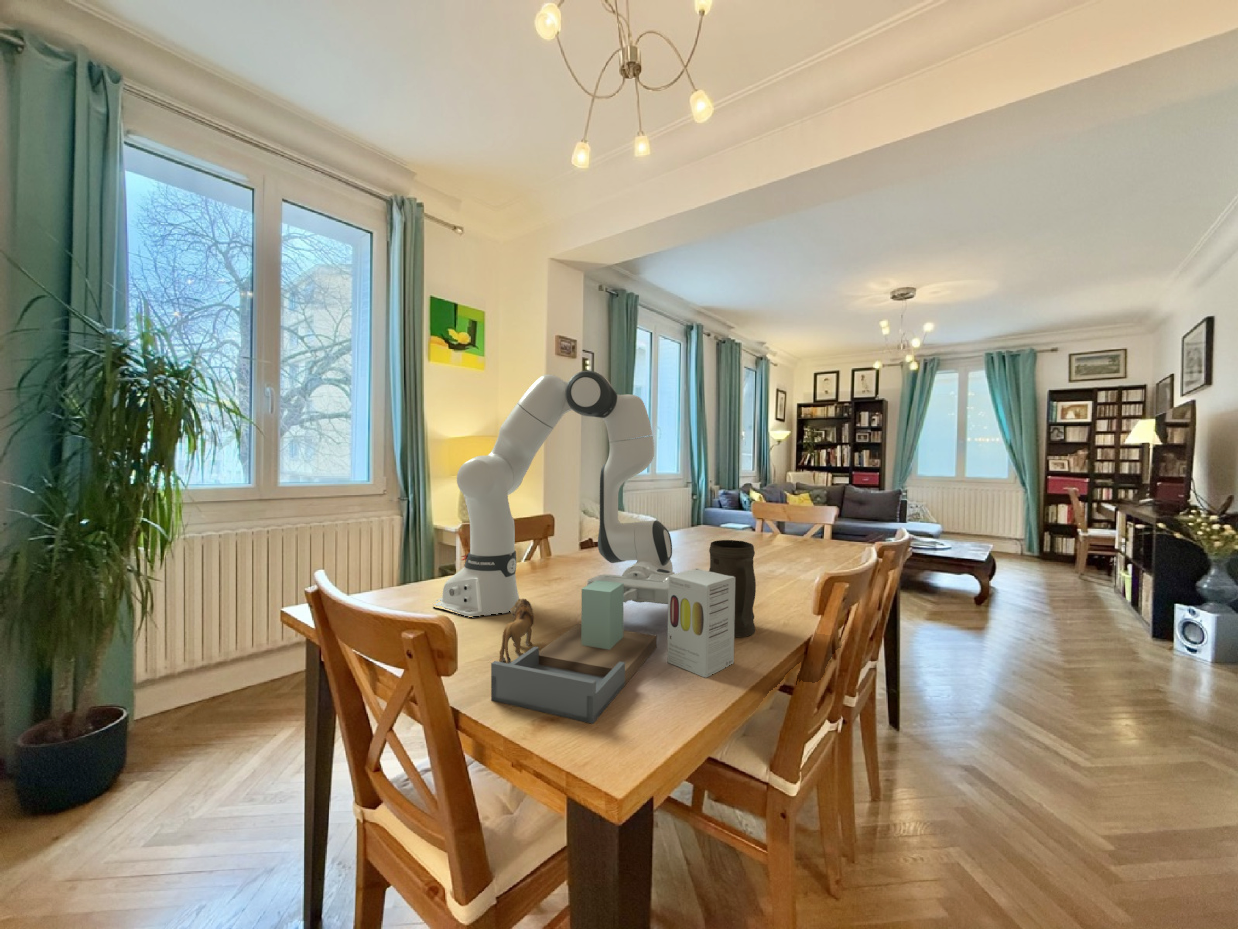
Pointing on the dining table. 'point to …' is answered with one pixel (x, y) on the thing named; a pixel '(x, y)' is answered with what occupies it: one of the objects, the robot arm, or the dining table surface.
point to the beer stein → (737, 579)
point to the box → (554, 687)
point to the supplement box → (701, 621)
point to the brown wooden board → (598, 653)
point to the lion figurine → (517, 628)
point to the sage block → (602, 614)
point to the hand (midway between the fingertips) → (618, 598)
